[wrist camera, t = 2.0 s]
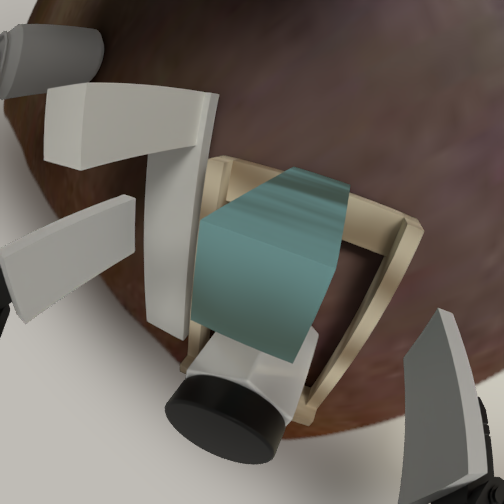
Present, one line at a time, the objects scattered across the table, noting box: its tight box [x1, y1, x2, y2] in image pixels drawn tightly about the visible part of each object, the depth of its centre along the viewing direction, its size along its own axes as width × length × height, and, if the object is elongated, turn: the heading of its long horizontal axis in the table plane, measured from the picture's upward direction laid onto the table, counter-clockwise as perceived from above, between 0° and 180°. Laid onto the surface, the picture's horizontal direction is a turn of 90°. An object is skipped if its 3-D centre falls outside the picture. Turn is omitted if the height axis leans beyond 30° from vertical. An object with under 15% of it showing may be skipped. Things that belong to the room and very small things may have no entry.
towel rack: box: [180, 155, 424, 426], centre depth 18 cm, size 22×14×12 cm
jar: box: [165, 326, 319, 464], centre depth 20 cm, size 9×8×12 cm
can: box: [0, 24, 104, 100], centre depth 15 cm, size 8×8×12 cm
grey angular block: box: [44, 83, 219, 340], centre depth 19 cm, size 24×5×11 cm, turn 168°
